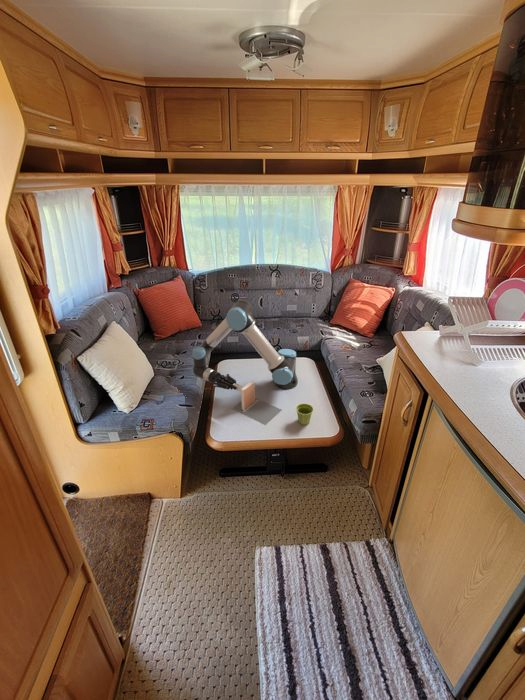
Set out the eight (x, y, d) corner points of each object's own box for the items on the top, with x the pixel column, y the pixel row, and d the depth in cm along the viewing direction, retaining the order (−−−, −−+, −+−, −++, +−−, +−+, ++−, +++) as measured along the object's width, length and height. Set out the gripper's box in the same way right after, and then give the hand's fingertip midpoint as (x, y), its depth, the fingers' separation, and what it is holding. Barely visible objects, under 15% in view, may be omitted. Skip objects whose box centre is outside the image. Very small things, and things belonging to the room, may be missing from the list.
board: (231, 410, 198) (231, 407, 197) (249, 396, 210) (249, 394, 209) (265, 426, 186) (265, 423, 185) (282, 411, 197) (282, 408, 196)
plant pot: (294, 415, 194) (295, 403, 189) (311, 415, 193) (312, 403, 189) (295, 426, 185) (296, 414, 181) (313, 427, 185) (314, 414, 181)
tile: (242, 409, 197) (241, 389, 190) (252, 400, 204) (252, 380, 197) (244, 410, 196) (243, 390, 190) (255, 401, 203) (254, 381, 197)
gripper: (220, 376, 216) (249, 389, 204) (205, 386, 207) (234, 400, 195) (219, 366, 213) (249, 378, 200) (204, 375, 204) (234, 389, 191)
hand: (242, 389), depth 198 cm, fingers closed
